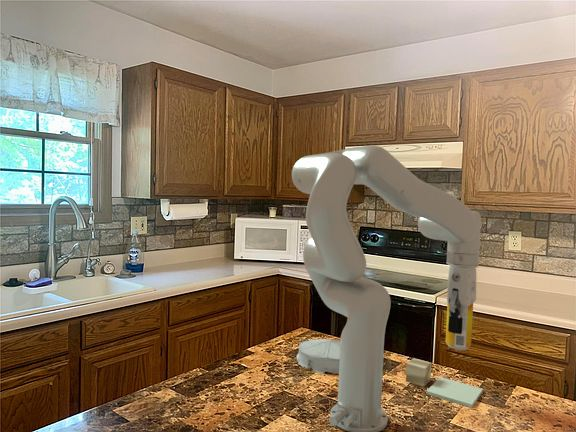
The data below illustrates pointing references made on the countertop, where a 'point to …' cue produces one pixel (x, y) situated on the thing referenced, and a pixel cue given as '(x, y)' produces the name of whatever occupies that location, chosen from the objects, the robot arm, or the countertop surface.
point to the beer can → (464, 338)
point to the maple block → (418, 372)
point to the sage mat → (455, 392)
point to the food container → (320, 355)
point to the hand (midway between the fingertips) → (458, 328)
